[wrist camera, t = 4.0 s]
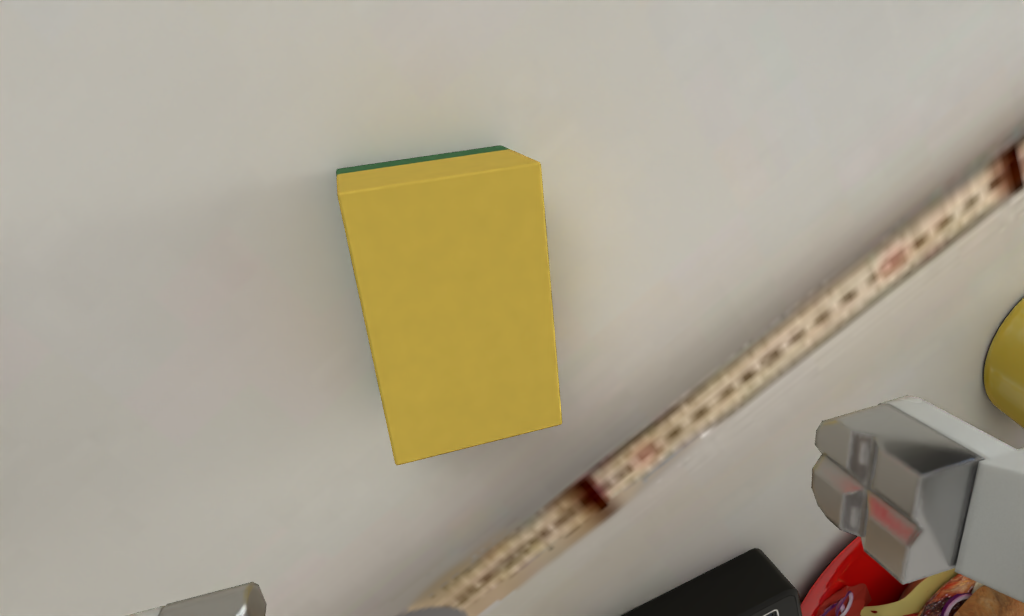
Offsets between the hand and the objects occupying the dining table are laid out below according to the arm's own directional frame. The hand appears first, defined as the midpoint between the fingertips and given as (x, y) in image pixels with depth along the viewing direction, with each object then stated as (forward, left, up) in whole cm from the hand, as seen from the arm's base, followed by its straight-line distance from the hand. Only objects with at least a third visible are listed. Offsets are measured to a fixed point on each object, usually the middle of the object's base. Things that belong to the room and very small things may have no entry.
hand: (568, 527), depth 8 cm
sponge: (0, 0, -10) cm, 10 cm away
